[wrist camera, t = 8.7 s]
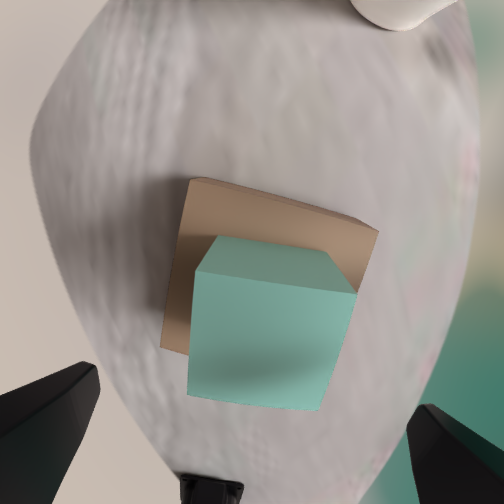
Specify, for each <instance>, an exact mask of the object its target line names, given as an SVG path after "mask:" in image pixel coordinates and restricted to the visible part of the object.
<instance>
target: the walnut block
mask: <svg viewBox="0 0 504 504" xmlns="http://www.w3.org/2000/svg"><path fill="white" fill-rule="evenodd" d="M378 233H379V231H378V230H376V229H374V228H372V227H371V226H369V225H367V224H365V223H364V222H362V221H360V220H358V219H356V218H353V217H350V216H347V215H343V214H340V213H337V212H333V211H330V210H327V209H323V208H320V207H317V206H313V205H310V204H306V203H303V202H299V201H296V200H292V199H289V198H285V197H281V196H278V195H274V194H270V193H266V192H263V191H259V190H255V189H251V188H247V187H243V186H239V185H235V184H231V183H227V182H223V181H219V180H215V179H211V178H206V177H203V178H196V179H190V182H189V186H188V191H187V195H186V200H185V204H184V209H183V214H182V218H181V223H180V228H179V233H178V238H177V243H176V249H175V254H174V259H173V265H172V270H171V276H170V282H169V288H168V294H167V300H166V307H165V313H164V320H163V327H162V334H161V342H160V347H161V348H165V349H168V350H171V351H175V352H178V353H181V354H185V355H189V346H190V330H191V317H192V304H193V292H194V280H195V271H196V269H197V267H198V266H199V264H200V263H201V261H202V260H203V258H204V256H205V255H206V253H207V252H208V250H209V249H210V247H211V246H212V244H213V242H214V241H215V239H216V238H217V236H218V235H221V236H228V237H234V238H241V239H247V240H254V241H260V242H267V243H273V244H280V245H286V246H293V247H299V248H305V249H312V250H318V251H324V252H327V253H328V255H329V256H330V257H331V259H332V260H333V261H334V263H335V264H336V265H337V267H338V268H339V270H340V271H341V272H342V274H343V275H344V276H345V278H346V279H347V280H348V282H349V283H350V285H351V286H352V287H353V289H354V290H355V292H356V293H357V292H358V289H359V287H360V284H361V281H362V279H363V276H364V273H365V271H366V268H367V265H368V262H369V259H370V256H371V254H372V251H373V248H374V245H375V242H376V239H377V236H378Z"/></svg>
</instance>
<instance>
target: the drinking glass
mask: <svg viewBox="0 0 504 504" xmlns="http://www.w3.org/2000/svg"><path fill="white" fill-rule="evenodd" d="M350 1H351V3H352V4H353V6H354V7H355V8H356V10H357V11H358V12H359V13H360V14H361V15H362V16H364V17H365V18H366V19H368V20H369V21H371V22H372V23H374V24H376V25H378V26H380V27H382V28H385V29H389V30H393V31H407V30H410V29H413V28H415V27H417V26H418V25H419V24H421V23H422V22H423V21H424V20H426V19H427V18H428V17H430V16H431V15H433V14H435V13H437V12H438V11H440V10H442V9H443V8H445V7H447V6H449V5H451V4H452V3H454V2H456V1H458V0H350Z"/></svg>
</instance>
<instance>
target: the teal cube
mask: <svg viewBox="0 0 504 504" xmlns="http://www.w3.org/2000/svg"><path fill="white" fill-rule="evenodd" d="M356 298H357V293H356V292H355V290H354V289H353V287H352V286H351V285H350V283H349V282H348V280H347V279H346V278H345V276H344V275H343V274H342V272H341V271H340V270H339V268H338V267H337V265H336V264H335V263H334V261H333V260H332V259H331V257H330V256H329V255H328V253H327V252H324V251H318V250H312V249H305V248H299V247H293V246H286V245H280V244H273V243H267V242H260V241H254V240H247V239H241V238H234V237H228V236H221V235H218V236H217V238H216V239H215V241H214V242H213V244H212V246H211V247H210V249H209V250H208V252H207V253H206V255H205V256H204V258H203V260H202V261H201V263H200V264H199V266H198V267H197V269H196V271H195V280H194V292H193V304H192V317H191V330H190V346H189V363H188V383H187V395H190V396H195V397H201V398H206V399H212V400H218V401H224V402H231V403H238V404H245V405H253V406H262V407H272V408H283V409H295V410H312V411H318V409H319V407H320V404H321V402H322V399H323V397H324V394H325V392H326V389H327V386H328V384H329V381H330V378H331V375H332V373H333V370H334V367H335V364H336V361H337V358H338V356H339V353H340V350H341V347H342V344H343V341H344V338H345V334H346V331H347V328H348V325H349V322H350V318H351V315H352V312H353V308H354V305H355V301H356Z"/></svg>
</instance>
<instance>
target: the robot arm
mask: <svg viewBox="0 0 504 504" xmlns="http://www.w3.org/2000/svg"><path fill="white" fill-rule="evenodd" d="M99 395H100V383H99V376H98V370H97V367H96V366H95V365H93V364H91V363H88V362H85V361H82V362H79V363H76V364H74V365H72V366H69V367H67V368H65V369H63V370H60V371H58V372H56V373H53V374H51V375H48V376H46V377H44V378H41V379H39V380H36V381H34V382H32V383H30V384H27V385H24V386H22V387H20V388H17V389H15V390H12V391H10V392H7V393H5V394H2V395H0V504H52V502H53V500H54V498H55V495H56V493H57V491H58V489H59V487H60V484H61V482H62V480H63V478H64V476H65V474H66V472H67V470H68V468H69V466H70V464H71V461H72V460H73V457H74V456H75V454H76V452H77V450H78V448H79V446H80V444H81V441H82V439H83V437H84V434H85V432H86V429H87V427H88V424H89V421H90V419H91V416H92V413H93V411H94V408H95V405H96V403H97V400H98V397H99ZM406 431H407V437H408V444H409V450H410V457H411V465H412V471H413V475H414V480H415V484H416V489H417V493H418V497H419V502H420V504H504V451H503V450H501V449H500V448H498V447H497V446H495V445H494V444H492V443H490V442H489V441H487V440H486V439H484V438H483V437H481V436H480V435H478V434H477V433H475V432H474V431H472V430H471V429H469V428H468V427H466V426H465V425H463V424H462V423H460V422H459V421H457V420H455V419H454V418H453V417H451V416H450V415H448V414H447V413H445V412H444V411H442V410H441V409H439V408H438V407H436V406H435V405H433V404H421V405H419V406H418V407H417V409H416V410H415V412H414V414H413V415H412V417H411V419H410V420H409V422H408V424H407V428H406ZM243 490H244V485H243V484H240V483H232V482H224V481H217V480H211V479H205V478H199V477H194V476H188V475H181V476H180V498H181V504H239V502H240V499H241V496H242V493H243Z"/></svg>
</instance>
